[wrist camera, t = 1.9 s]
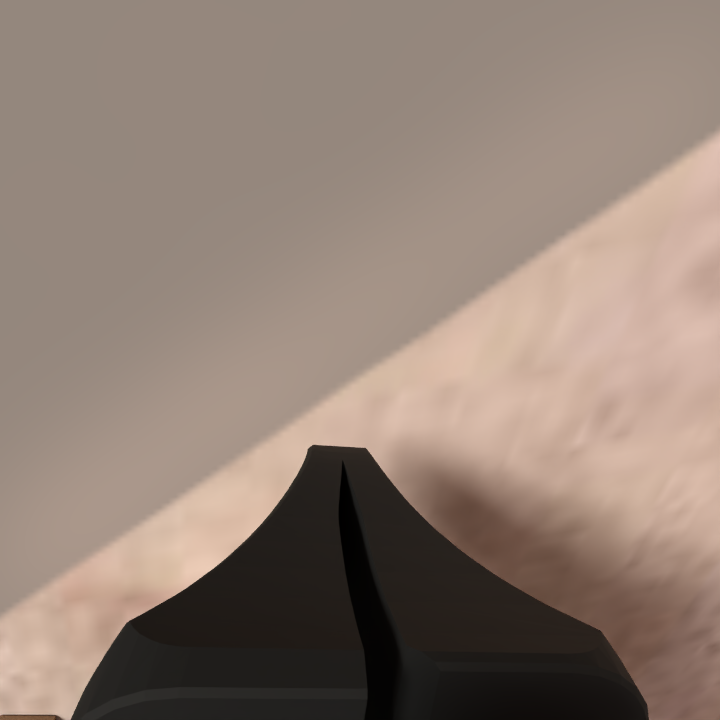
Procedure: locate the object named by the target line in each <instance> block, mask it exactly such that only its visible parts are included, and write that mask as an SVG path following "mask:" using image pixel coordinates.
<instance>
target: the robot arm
mask: <svg viewBox="0 0 720 720" xmlns="http://www.w3.org/2000/svg"><path fill="white" fill-rule="evenodd" d="M71 720H649V717H648V709H647V704H646V702H645V700H644V698H643V697H642V695H641V693H640V692H639V690H638V688H637V686H636V685H635V683H634V681H633V680H632V678H631V676H630V675H629V673H628V671H627V670H626V668H625V666H624V665H623V663H622V661H621V660H620V658H619V657H618V655H617V654H616V652H615V651H614V649H613V648H612V646H611V645H610V643H609V642H608V641H607V639H606V638H605V636H604V635H603V634H602V632H601V631H600V630H598V629H596V628H593V627H591V626H589V625H587V624H585V623H583V622H581V621H579V620H577V619H575V618H573V617H571V616H568V615H566V614H564V613H562V612H560V611H558V610H556V609H554V608H552V607H550V606H548V605H546V604H544V603H542V602H540V601H538V600H537V599H535V598H533V597H531V596H530V595H528V594H526V593H524V592H522V591H521V590H519V589H517V588H515V587H514V586H512V585H510V584H509V583H507V582H506V581H504V580H502V579H501V578H499V577H498V576H496V575H495V574H493V573H492V572H490V571H489V570H487V569H486V568H484V567H483V566H481V565H480V564H479V563H477V562H476V561H474V560H473V559H471V558H470V557H469V556H467V555H466V554H465V553H463V552H462V551H461V550H459V549H458V548H457V547H456V546H454V545H453V544H452V543H451V542H450V541H449V540H447V539H446V538H445V537H444V536H443V535H441V534H440V533H439V532H438V531H437V530H436V529H434V528H433V527H432V526H431V525H430V524H429V523H428V522H427V521H426V520H425V519H424V518H423V517H422V516H421V515H420V514H419V513H418V512H417V511H416V510H415V509H414V508H413V507H412V506H411V505H410V504H409V502H408V501H407V500H406V499H405V498H404V497H403V495H402V494H401V493H400V492H399V491H398V490H397V488H396V487H395V486H394V485H393V483H392V482H391V481H390V480H389V478H388V477H387V476H386V474H385V473H384V472H383V471H382V469H381V468H380V466H379V465H378V464H377V462H376V461H375V460H374V458H373V457H372V455H371V454H370V453H369V451H368V450H367V449H366V448H355V447H339V446H322V445H312V446H311V447H310V448H309V449H308V451H307V455H306V458H305V461H304V463H303V465H302V467H301V469H300V471H299V473H298V474H297V476H296V478H295V479H294V481H293V483H292V484H291V486H290V487H289V489H288V491H287V492H286V493H285V495H284V496H283V498H282V499H281V500H280V502H279V503H278V504H277V505H276V507H275V508H274V509H273V511H272V512H271V513H270V515H269V516H268V517H267V518H266V519H265V520H264V522H263V523H262V524H261V525H260V526H259V527H258V528H257V529H256V530H255V531H254V532H253V534H252V535H251V536H250V537H249V538H248V539H247V540H246V541H245V542H243V543H242V544H241V545H240V546H239V547H238V548H237V549H236V550H235V551H234V552H233V553H232V554H230V555H229V556H228V557H227V558H226V559H225V560H224V561H222V562H221V563H220V564H219V565H217V566H216V567H215V568H214V569H212V570H211V571H210V572H208V573H207V574H205V575H204V576H203V577H201V578H200V579H199V580H197V581H196V582H194V583H193V584H192V585H190V586H189V587H188V588H186V589H185V590H183V591H181V592H180V593H178V594H177V595H175V596H173V597H172V598H170V599H168V600H166V601H165V602H163V603H161V604H159V605H158V606H156V607H154V608H152V609H150V610H149V611H147V612H145V613H143V614H142V615H140V616H138V617H136V618H134V619H132V620H130V621H129V622H127V623H126V625H125V626H124V627H123V629H122V630H121V632H120V633H119V635H118V636H117V638H116V639H115V641H114V642H113V644H112V645H111V647H110V648H109V650H108V651H107V653H106V654H105V656H104V658H103V659H102V661H101V663H100V664H99V666H98V667H97V669H96V671H95V672H94V674H93V676H92V677H91V679H90V681H89V683H88V684H87V686H86V688H85V690H84V692H83V694H82V696H81V698H80V700H79V703H78V705H77V707H76V709H75V711H74V714H73V716H72V718H71Z"/></svg>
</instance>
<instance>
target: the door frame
mask: <svg viewBox="0 0 720 720" xmlns="http://www.w3.org/2000/svg"><path fill="white" fill-rule="evenodd" d="M0 720H56V716H8V715H1V716H0Z"/></svg>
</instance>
